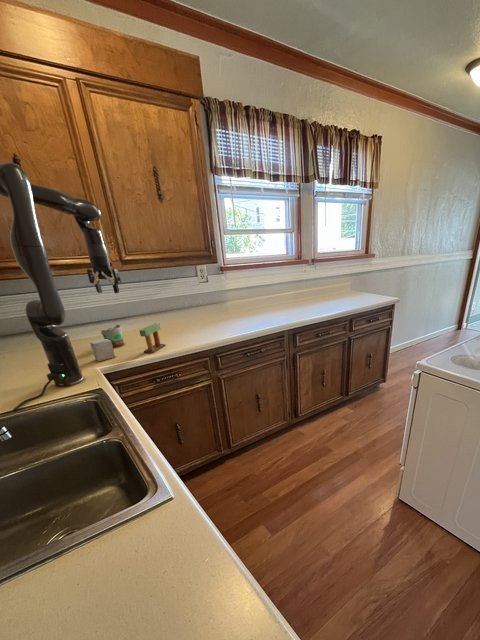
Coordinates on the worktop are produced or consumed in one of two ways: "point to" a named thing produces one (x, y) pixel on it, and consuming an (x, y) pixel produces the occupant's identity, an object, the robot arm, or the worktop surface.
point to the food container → (114, 336)
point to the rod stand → (150, 346)
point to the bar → (150, 329)
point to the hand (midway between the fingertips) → (108, 292)
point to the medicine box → (102, 349)
